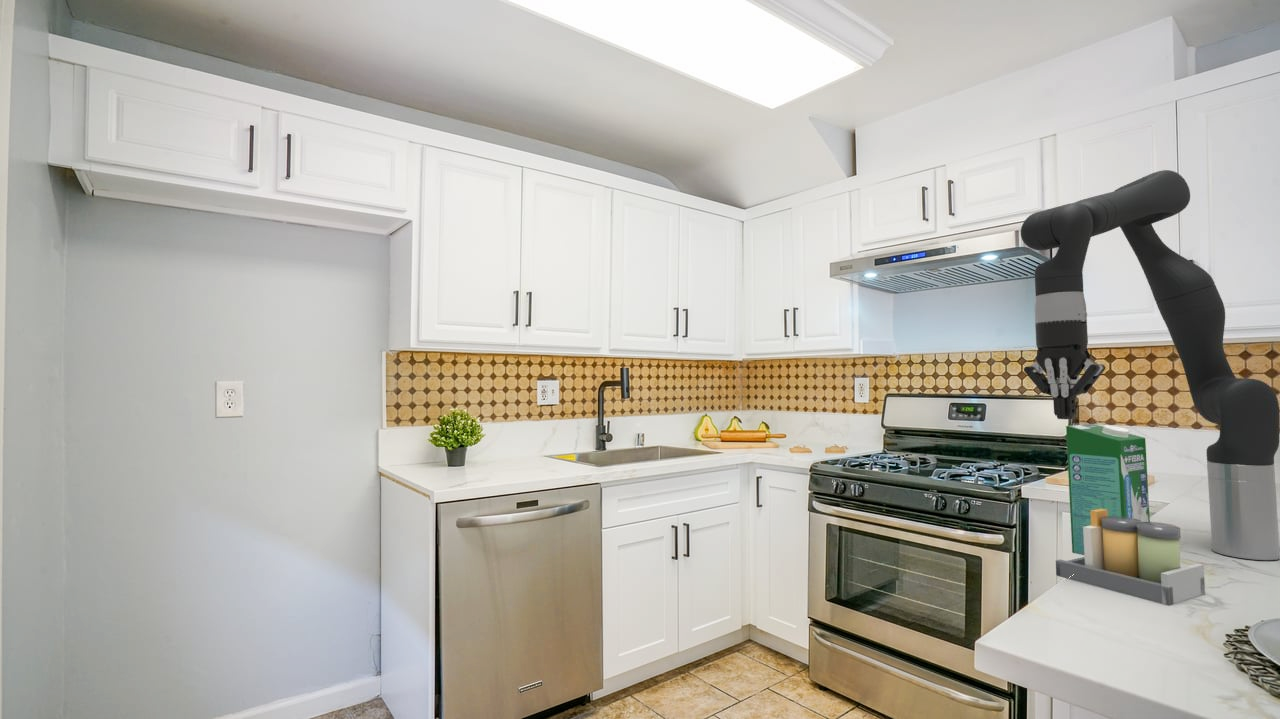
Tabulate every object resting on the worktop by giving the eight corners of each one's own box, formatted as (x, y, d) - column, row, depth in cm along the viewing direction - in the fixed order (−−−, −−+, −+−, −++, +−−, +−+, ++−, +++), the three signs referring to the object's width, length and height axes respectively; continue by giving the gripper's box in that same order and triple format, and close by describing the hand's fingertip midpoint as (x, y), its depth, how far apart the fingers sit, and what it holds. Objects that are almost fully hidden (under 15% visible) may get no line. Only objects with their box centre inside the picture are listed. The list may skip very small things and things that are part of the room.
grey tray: (1092, 571, 109) (1090, 541, 109) (1205, 599, 94) (1203, 564, 95) (1056, 580, 105) (1055, 549, 105) (1169, 610, 90) (1167, 574, 90)
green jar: (1149, 584, 99) (1147, 520, 99) (1189, 594, 94) (1187, 527, 94) (1130, 589, 97) (1129, 524, 97) (1170, 600, 92) (1168, 531, 92)
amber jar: (1114, 576, 104) (1111, 514, 104) (1151, 584, 99) (1148, 520, 100) (1097, 581, 101) (1094, 518, 102) (1134, 590, 97) (1131, 524, 97)
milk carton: (1126, 568, 110) (1119, 427, 111) (1071, 556, 118) (1065, 425, 119) (1152, 561, 114) (1145, 425, 115) (1097, 549, 122) (1091, 422, 123)
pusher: (1110, 572, 105) (1107, 507, 105) (1118, 574, 104) (1115, 508, 104) (1085, 578, 102) (1082, 511, 102) (1093, 580, 101) (1090, 513, 101)
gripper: (1010, 323, 113) (1014, 418, 113) (1087, 315, 101) (1093, 421, 101) (1036, 324, 116) (1040, 416, 116) (1114, 316, 104) (1120, 419, 104)
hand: (1065, 418), depth 108 cm, fingers closed
